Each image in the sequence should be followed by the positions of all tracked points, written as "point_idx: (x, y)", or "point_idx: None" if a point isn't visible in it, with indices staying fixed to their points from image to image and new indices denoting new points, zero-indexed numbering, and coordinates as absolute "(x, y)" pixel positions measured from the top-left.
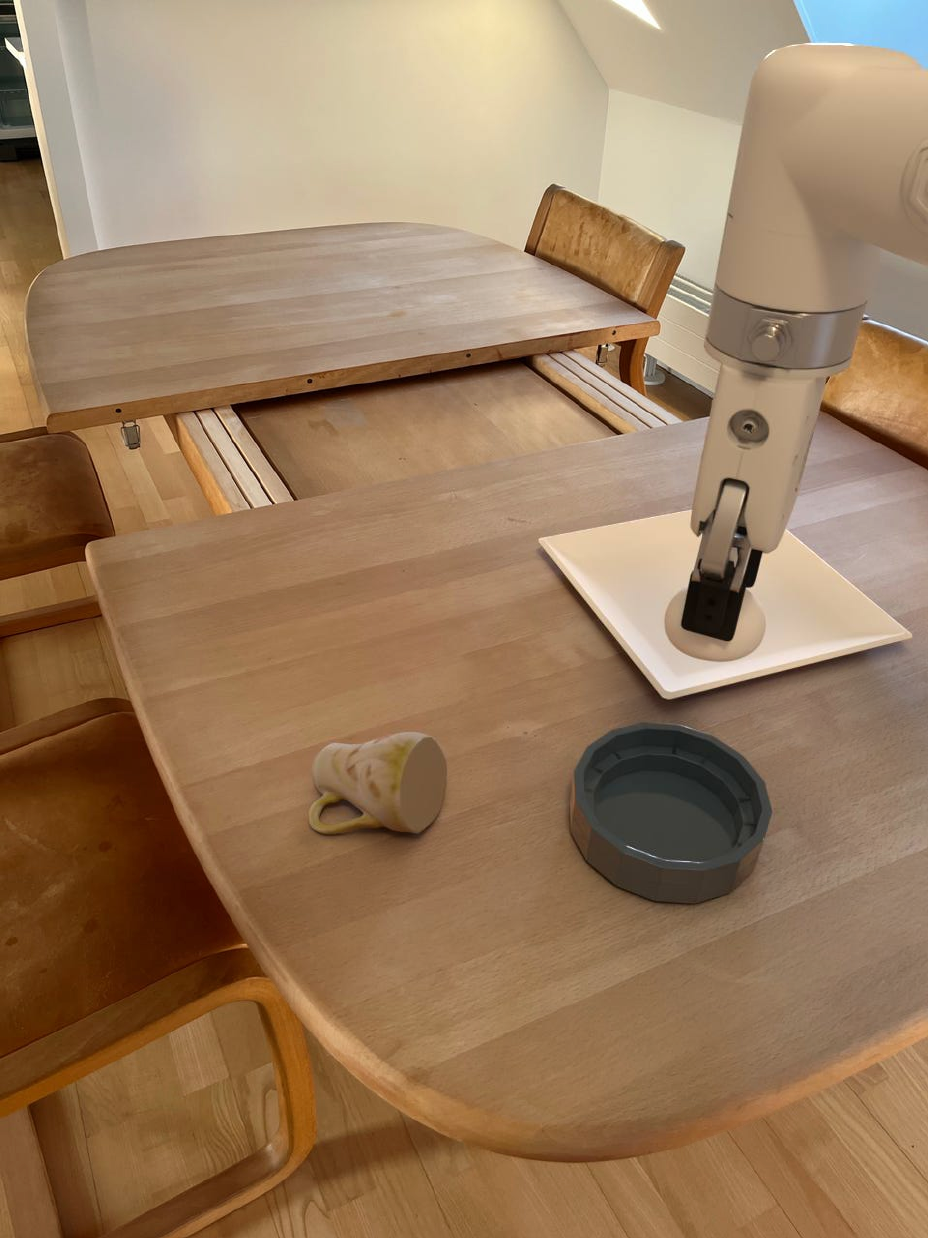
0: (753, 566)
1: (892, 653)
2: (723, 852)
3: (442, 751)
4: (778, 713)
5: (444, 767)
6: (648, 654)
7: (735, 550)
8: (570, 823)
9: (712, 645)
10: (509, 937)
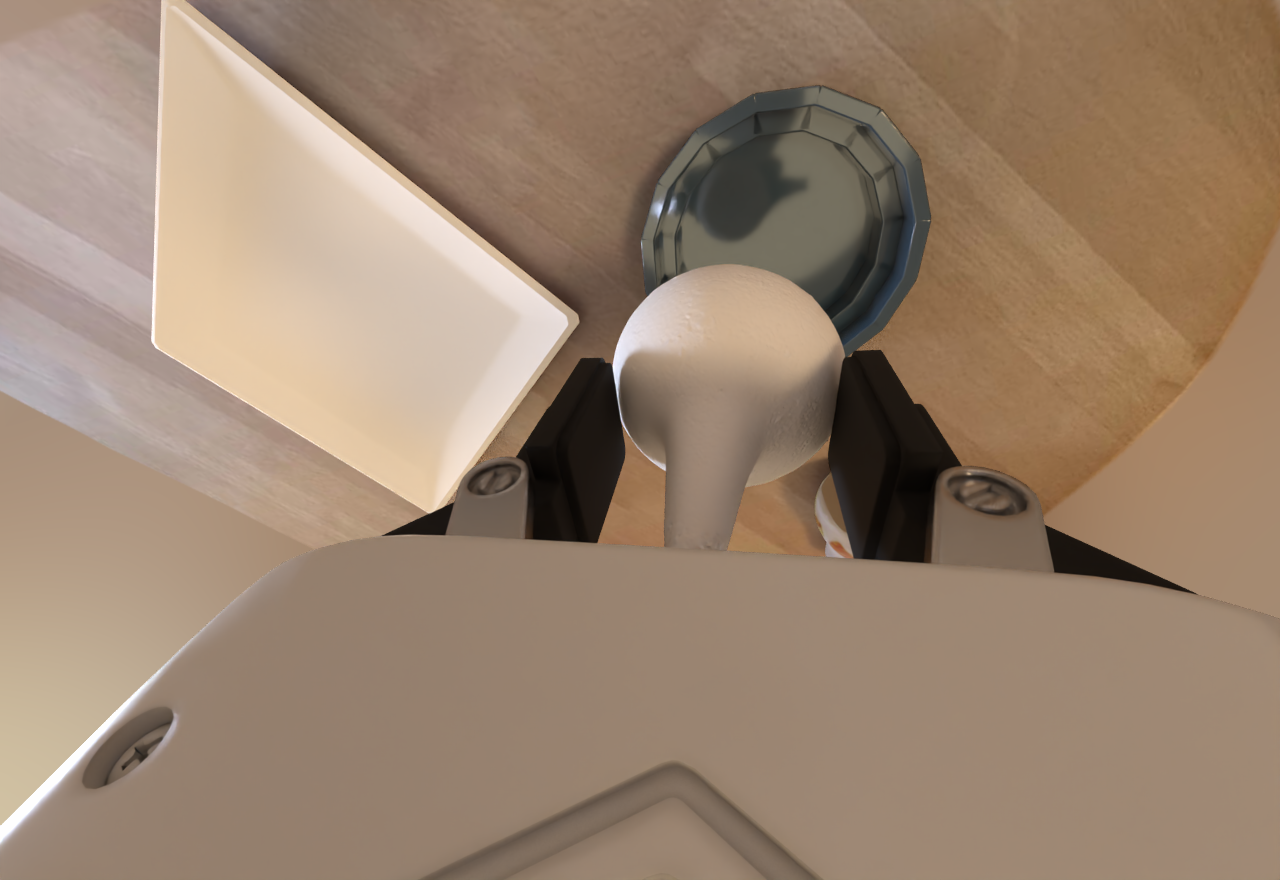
0: (595, 399)
1: (225, 21)
2: (789, 147)
3: (822, 501)
4: (485, 164)
5: (826, 487)
6: (513, 360)
7: (707, 515)
8: None
9: None
10: (997, 340)
